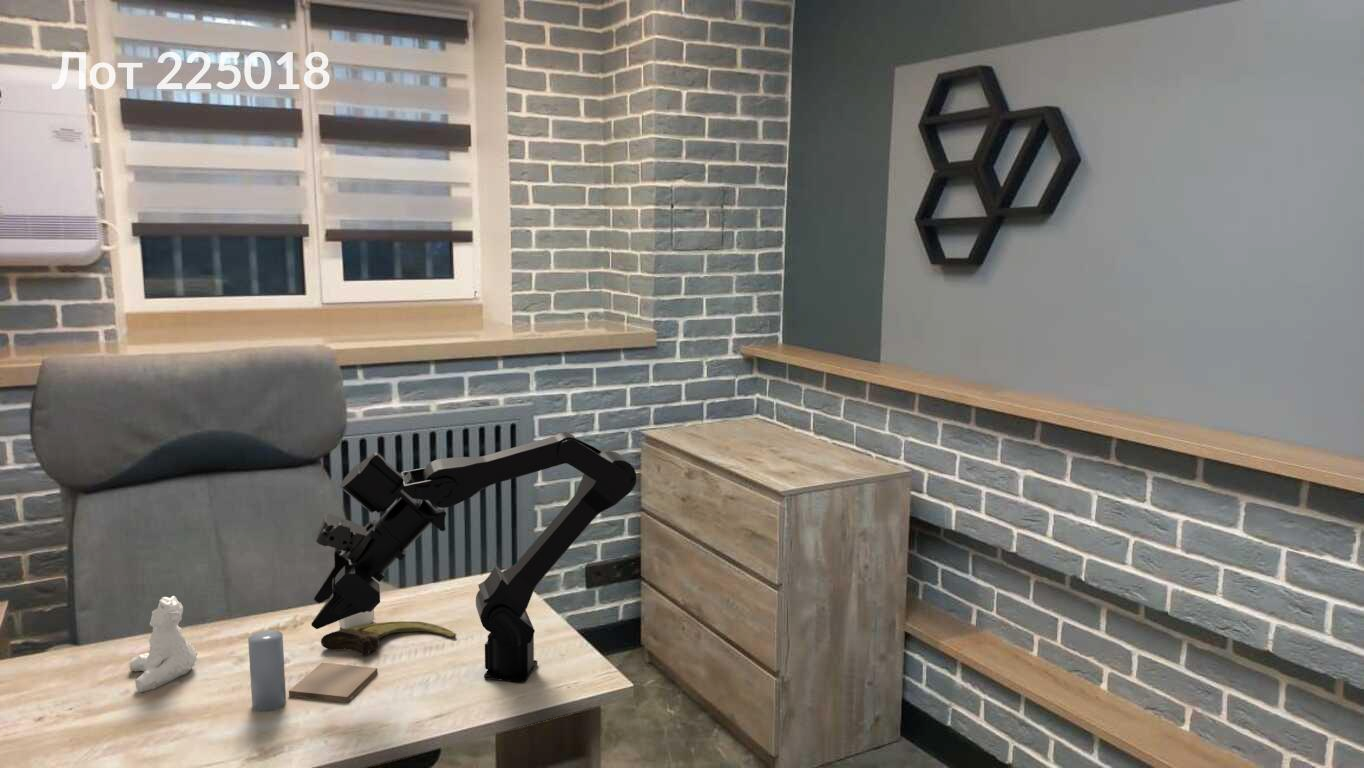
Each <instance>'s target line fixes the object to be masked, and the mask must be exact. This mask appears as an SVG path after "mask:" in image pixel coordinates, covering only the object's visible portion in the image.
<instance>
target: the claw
mask: <svg viewBox="0 0 1364 768" xmlns="http://www.w3.org/2000/svg"><path fill="white" fill-rule="evenodd" d="M403 632H406V633H408V632H425V633H426V632H427V633H433V634H439V635H443V636H447V637H449V638H455V637H457V633H455V632H454V631H452V630H451V629H448V628H445V627H443V626H441V625H439V624H434V623H430V622H424V621H418V620H417V621H415V620H413V621H409V620H408V621H406V620H405V621H402V620H401V621H383V622H374V623H372V622H371V623H370V624H365V625H359V626H353V627H350V628H345V629H343V628H341V629H339V630H336V631H331V632H330V633H327V634H325V635H324V636H323V637H322V638H321V639H320V644H321V646H322V647H323V648H325V649H327V650H332V651H334V650H335V651H336V650H337V651H338V650H349V651H353V652H357V653H359V654H361V656H365V657H366V656H367V655H368V654H369V653H370V651H372V650H377V649H378V648H379V643H380V642H379V641H380V640H379V639H381V638H383V637H384V636H387V635H389V634H394V633H395V634H396V633H403Z"/></svg>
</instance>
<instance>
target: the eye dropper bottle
mask: <svg viewBox="0 0 1364 768" xmlns="http://www.w3.org/2000/svg"><path fill="white" fill-rule="evenodd" d="M374 620H375V608H374V609H373V610H372V611H371V612H368V611H366V612H365V613H363V612H360V613H357V614H355V615H352V616H349V617H346V618H344V619H341V620H339V621H338V625H339V627H340V628H341V629H345V628H350V627H353V626H359V625H365V624H372V622H374Z"/></svg>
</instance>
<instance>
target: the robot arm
mask: <svg viewBox="0 0 1364 768" xmlns="http://www.w3.org/2000/svg"><path fill="white" fill-rule="evenodd" d="M563 464H565V465H566V464H567V465H569V466H571V467H573V468H575V469H576V470H578V471H579V472H581V473H582V474H583V475H582V477H581V480H580V482H579V485H578V486H577V490H576V492H575V494H574V496H573V497H572V498H571V499H570V500H569V502H568V503H566V504H565V506H564V507H563V509H562V510H561V511H560V512H559V513H558V514H557V516H555V517H554V518H553V520H552V521H551V522H550V523H549V525H548V526H547V527H546V528H545V529H544V530H543V531H542V532H541V534H540V535H539V536H538V537H537V538H536V539H535V541H534V542H533V543H532V544H531V545H530V546H529V547H528V549H527V550H526V551H525V552H524V553H523V555H522V556H521V557H520V558H519V559H518V561H516V562H515V564H514V565H512V566H511V567H509V568H507V569H505V570H503V571H502V570H501V569H500V568H499V567H498V566H494V568H493V569H492V570H491V572H490V574H489V575H488V576H487V578H486V579H485V580H483V581H482V582H481V583H479V584H477V586H478V591H477V593H476V597H475V607H476V611H477V614H478V616H479V620H480V622H481V623H480V624H481V625H482V628H484V629H485V630H486V631H487V632H489V633H488V635H487V641H486V642H485V644H484V669H485V670H487V671H486V672H484V674H483V678H484V679H486V680H487V679H488V680H494V681H495V680H498V681H506V682H507V681H508V682H516V683H525V682H526V681H527V680H528V678H529V677H530V676H531V674H532V673H533V672H534V670H535V669H536V667H537V666H538V660H537V659H535V653H534V652H535V651H534V650H535V648H534V647H535V646H534V645H535V640H534V639H535V638H534V637H535V636H534V635H535V628H534V626H533V624H532V620H531V619H530V616H529V614H528V612H527V608H528V606H529V604H530V601H531V598H532V597H533V594H534V591H535V589H536V587H537V586H538V584H539V583H540V582H541V581H542V579H544V578H545V576H546V575H547V574H548V572H550V570H551V569H552V568H553V567H554V566H555V565H556V563H557V562H558V561H559V560H560V559H561V558H562V557H563V555H564V554H565V553H566V552H567V551H568V549H569V548H570V547H571V546H572V545H573V544H574V542H576V540H577V539H578V538H579V536H580V535H581V534H582V533H583V532H584V531H585V530H586V528H588V526H589V525H590V524H591V523H592V522H593V520H594V519H595V518H596V517H597V516H598V515H599V514H601V513H603V512H605V511H607V510H608V509H609V510H610V509H611V508H612V507H614V506H616V505H617V504H618V503H620V502H621V501H622V500H623V499H625V497H627V496H628V495H629V494H630V493H631V492H632V491H633V490H634V488H635V487H636V485H637V472H636V470H635V468H634V467H633V464H631V463H630V462H629V461H628V460H627V459H626V458H624V457H623V456H622V455H621V454H619V453H618V452H616V451H613V450H608V451H601V450H600V449H598V448H596V447H595V446H593V445H592V444H589V443H587V442H585V441H583V440H581V439H579V438H577V437H576V436H574V434H572V433H570V432H566V431H565V432H564V431H562V432H559V433H557V434H556V435H553V436H550V437H546V438H543V439H539V440H536V441H533V442H529V443H525V444H522V445H518V446H514V447H512V448H507V449H504V450H500V451H497V452H494V453H489V454H486V455H482V456H455V457H447V458H439V459H434V460H433V461H430V462H429V463H428V464H427V465H426V466H425V467H420V468H416V469H411V470H405V471H401V472H399V471H397V469H395V468H394V467H393V466H391V465H390V464H389V462H387V461H386V459H385V458H384V457H383V456H382V455H381V454H380V453H378V451H374V452H373V453H372V454H371V455H370V456H369V457H366V458H365V459H364V460H362V461H361V462H360V463H357V464H356V465H355V466H354V467H353V468H352V469H351V470H350V471H349V472H348V473H347V474H346V476H345V477H344V478H343V480H342V481H341V483H340V485H339V488H340V489H341V490H343V491H344V492H345V493H346V494H348V495H349V496H350V497H351V498H352V499H353V500H355V501H356V502H358V504H360V505H361V506H362V507H363V508H364V509H365V510H367V511H368V512H370V513H374V512H377V513H378V514H379V513H384V512H385V511H386V510H387V511H386V512H385V513H384V514H383V515H382V516H381V517H380V518H379V519H378V520H375V519H374V520H370V521H368V523H367V524H366V525H364V526H363V525H360V524H357V522H354V521H351V520H349V519H345V518H344V517H339V516H337V515H334V514H330V513H326V514H325V515H324V517H323V520H322V522H321V524H320V527H319V529H318V530H317V533H316V540H315V541H316V543H317V544H318V545H320V546H323V547H331V548H334V554H333V555H334V560H333V561H334V564H333V566H332V567H331V569H330V571H329V573H328V574H327V576H326V578H325V579H324V580H323V582H322V584H321V586H320V587H319V589H318V590H317V592H316V594H315V595H314V597H313V600H314V601H315V602H316V603H318V604H321V603H323V602H325V601H326V602H325V603H324V605H323V606H322V607H321V609H320V610H319V612H318V613H317V615H316V616H315V618H314V619H313V620H312V622H311V627H312V628H314V629H315V630H318V629H321V628H325V627H326V626H329V625H331V624H334V623H336V622H339V620H341V619H344V618H346V617H349V616H352V615H355V614H357V613H360V612H363V613H365V612H366V611H368V612H371V611H372V610H373V609H374V610H375V608H376V607H377V606H378V605H379V604H380V603H381V591H380V582H381V581H382V580H383V579H384V578H385V572H386V571H387V569H389V567H390V566H391V565H392V564H393V563H395V562H396V560H397V559H398V560H399V561H400V562H401V561H402V560H403V559H404V558H405V556H406V550H407V549H408V548H409V547H410V546H411V545H412V544H413V543H414V542H415V541H416V540H417V539H418V538H419V537H420V535H422V534H423V533H424V532H425V530H426V529H427V528H428V527H429V526H430V525H433V526H435V527H436V528H437V529H438V530H439V531H441V532H445V531H446V516H447V511H446V508H451V507H453V506H455V505H458V504H460V503H462V502H464V501H466V500H469V499H470V498H472V497H474V496H475V495H477V494H478V493H480V492H481V491H483V490H484V489H486V488H488V487H490V486H492V485H495V484H499V483H502V482H506V481H509V480H512V479H516V478H520V477H523V476H527V475H529V474H530V475H531V474H533V473H537V472H539V471H543V470H548V469H551V468H554V467H557V466H560V465H563ZM399 497H400V498H399ZM398 498H399V499H398ZM434 506H436V507H434ZM437 507H438V508H437ZM373 578H374V579H373Z"/></svg>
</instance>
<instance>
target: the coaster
mask: <svg viewBox="0 0 1364 768" xmlns="http://www.w3.org/2000/svg"><path fill="white" fill-rule="evenodd" d="M377 674H378V667H372V666H371V667H370V666H369V667H368V666H361V665H349V664H342V663H341V664H340V663H332V662H331V663H330V662H329V663H328V662H321V663H320V664H319V665H317V666H316V667H315V668H314V669H312V670H311V671H310V672H309V673H308V674H307V675H305V676H304V677H302V679H300V681H299V682H297V683H296V684H295V685H294V686H293V687H292V688H290V689H289V690H288V696H289V697H297V698H305V699H314V700H323V701H333V702H342V703H348V702H350V700H351V699H352V698H353V697H355V696H356V694H358V693H359V692H360V691H361V690H362V689H363V688H364V687H365V686H366V685H367V684H368V683H369V682H370V681H371V680H372V679H373V678H375V676H376V675H377Z"/></svg>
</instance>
